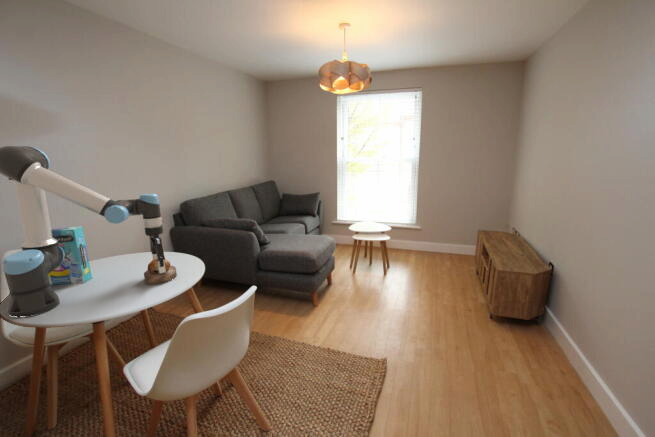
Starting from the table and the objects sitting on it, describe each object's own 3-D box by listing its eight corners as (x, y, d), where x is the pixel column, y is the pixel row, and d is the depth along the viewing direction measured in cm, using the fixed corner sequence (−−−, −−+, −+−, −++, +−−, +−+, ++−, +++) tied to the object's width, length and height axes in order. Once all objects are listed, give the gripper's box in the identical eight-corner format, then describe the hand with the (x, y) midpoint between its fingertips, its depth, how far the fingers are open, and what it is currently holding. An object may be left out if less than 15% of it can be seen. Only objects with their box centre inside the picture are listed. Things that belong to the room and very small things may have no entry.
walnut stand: (148, 287, 142) (147, 279, 141) (142, 278, 153) (141, 270, 152) (180, 278, 151) (179, 271, 150) (172, 270, 162) (171, 263, 161)
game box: (39, 285, 146) (25, 231, 140) (49, 280, 152) (37, 227, 146) (84, 283, 148) (73, 229, 142) (93, 278, 154) (82, 226, 148)
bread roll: (173, 274, 154) (175, 258, 156) (161, 273, 144) (163, 256, 146) (155, 274, 155) (157, 258, 157) (141, 273, 145) (144, 256, 147)
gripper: (168, 229, 140) (174, 274, 145) (156, 220, 157) (162, 261, 162) (149, 232, 135) (156, 278, 140) (139, 223, 152) (146, 265, 157)
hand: (159, 269), depth 151 cm, fingers closed on bread roll, 10 cm apart
